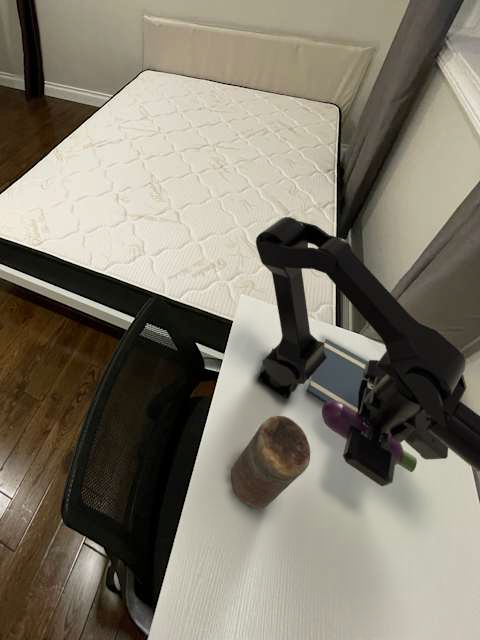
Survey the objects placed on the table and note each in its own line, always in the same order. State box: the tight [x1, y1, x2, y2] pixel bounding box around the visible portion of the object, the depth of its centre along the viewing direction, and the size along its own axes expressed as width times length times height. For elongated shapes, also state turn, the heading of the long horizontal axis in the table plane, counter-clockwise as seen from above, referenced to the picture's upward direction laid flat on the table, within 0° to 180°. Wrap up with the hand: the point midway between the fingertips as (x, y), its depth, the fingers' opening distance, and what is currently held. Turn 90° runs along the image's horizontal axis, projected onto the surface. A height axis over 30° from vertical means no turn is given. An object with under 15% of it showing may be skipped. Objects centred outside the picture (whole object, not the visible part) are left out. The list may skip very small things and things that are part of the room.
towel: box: [306, 338, 369, 412], centre depth 77 cm, size 10×14×1 cm
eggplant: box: [321, 400, 418, 473], centre depth 64 cm, size 15×5×5 cm, turn 54°
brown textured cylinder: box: [230, 415, 311, 509], centre depth 57 cm, size 8×7×20 cm
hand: (357, 433), depth 65 cm, fingers closed on eggplant, 5 cm apart
